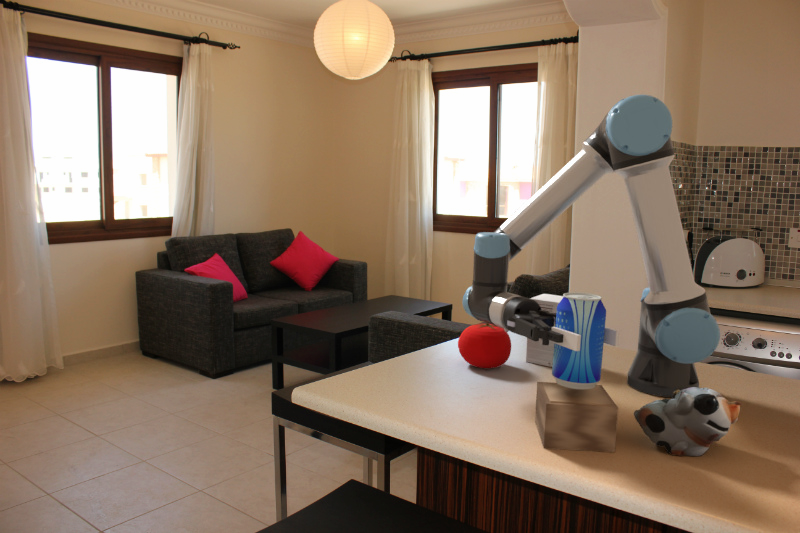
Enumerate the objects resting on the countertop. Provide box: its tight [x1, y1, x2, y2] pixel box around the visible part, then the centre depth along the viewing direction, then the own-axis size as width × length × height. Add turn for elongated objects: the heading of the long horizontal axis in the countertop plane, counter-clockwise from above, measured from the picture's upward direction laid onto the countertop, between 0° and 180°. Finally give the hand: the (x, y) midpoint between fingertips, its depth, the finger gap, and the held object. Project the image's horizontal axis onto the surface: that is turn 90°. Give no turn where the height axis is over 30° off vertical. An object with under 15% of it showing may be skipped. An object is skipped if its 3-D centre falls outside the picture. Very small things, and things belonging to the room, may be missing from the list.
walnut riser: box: [534, 381, 619, 453], centre depth 112 cm, size 12×12×8 cm
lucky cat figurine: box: [633, 387, 742, 457], centre depth 109 cm, size 15×12×14 cm
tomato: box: [457, 322, 512, 369], centre depth 155 cm, size 12×13×11 cm
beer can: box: [551, 292, 607, 389], centre depth 110 cm, size 8×8×16 cm
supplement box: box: [525, 293, 564, 368], centre depth 160 cm, size 10×9×17 cm
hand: (598, 340), depth 106 cm, fingers closed on beer can, 8 cm apart
